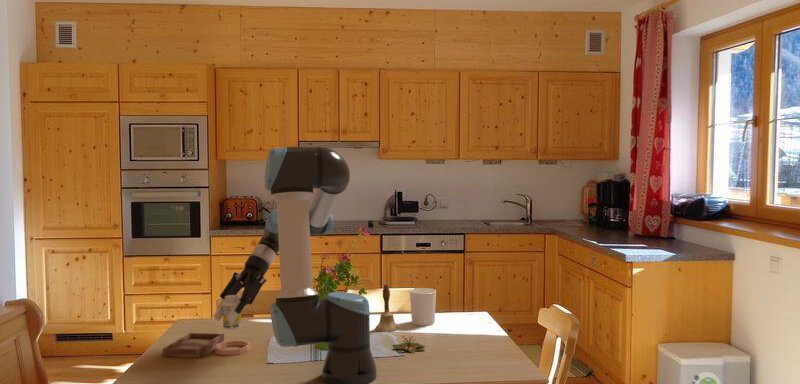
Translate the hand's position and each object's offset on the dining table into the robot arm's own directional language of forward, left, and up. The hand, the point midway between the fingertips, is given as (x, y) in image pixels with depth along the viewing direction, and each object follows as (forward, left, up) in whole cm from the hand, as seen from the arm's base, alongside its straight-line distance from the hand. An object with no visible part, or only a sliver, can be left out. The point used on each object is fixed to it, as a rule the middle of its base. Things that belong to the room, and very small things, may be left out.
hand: (222, 319), depth 196 cm
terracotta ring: (+3, -2, -11) cm, 11 cm away
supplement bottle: (+3, -2, -4) cm, 5 cm away
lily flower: (+11, -57, -11) cm, 60 cm away
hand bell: (+33, -47, -11) cm, 58 cm away
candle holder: (+42, -59, -11) cm, 73 cm away
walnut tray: (+3, +11, -11) cm, 16 cm away
